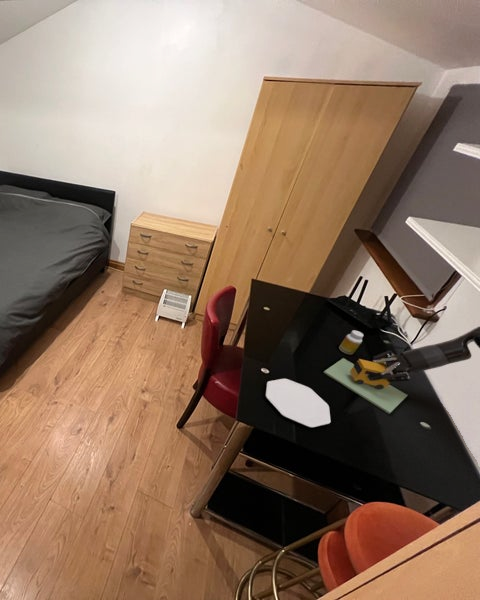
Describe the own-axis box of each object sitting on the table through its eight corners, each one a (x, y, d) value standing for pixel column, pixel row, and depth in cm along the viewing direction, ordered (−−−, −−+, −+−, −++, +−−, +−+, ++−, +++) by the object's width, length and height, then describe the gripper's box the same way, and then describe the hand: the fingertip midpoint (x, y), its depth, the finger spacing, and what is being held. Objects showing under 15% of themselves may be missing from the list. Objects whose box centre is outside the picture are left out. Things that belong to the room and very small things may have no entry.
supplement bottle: (351, 356, 136) (364, 339, 131) (337, 349, 140) (348, 332, 134) (354, 351, 139) (367, 334, 134) (340, 344, 143) (352, 327, 137)
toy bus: (377, 380, 123) (389, 365, 119) (383, 390, 119) (396, 375, 115) (347, 373, 126) (358, 358, 121) (351, 382, 122) (363, 367, 117)
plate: (326, 397, 116) (328, 394, 115) (330, 438, 102) (332, 436, 101) (266, 374, 124) (268, 371, 123) (262, 410, 109) (264, 407, 108)
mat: (406, 396, 119) (407, 395, 119) (389, 414, 112) (390, 412, 111) (342, 359, 134) (343, 358, 134) (323, 372, 127) (324, 371, 127)
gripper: (410, 337, 116) (354, 353, 126) (432, 364, 105) (369, 379, 114) (418, 352, 118) (362, 367, 127) (440, 380, 106) (377, 393, 116)
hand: (365, 372), depth 121 cm, fingers closed on toy bus, 5 cm apart
